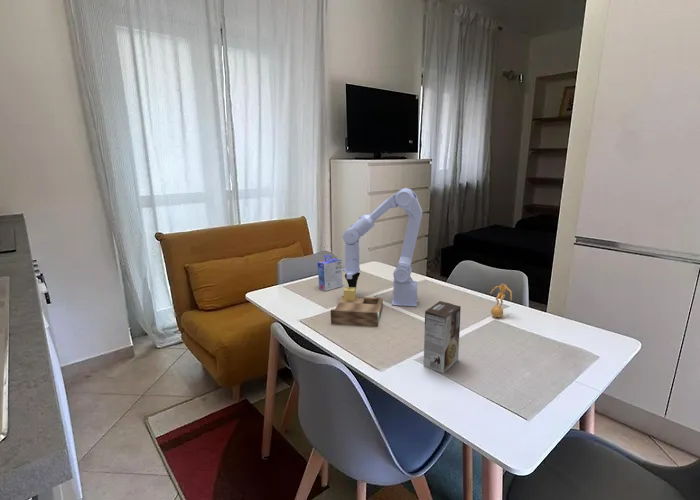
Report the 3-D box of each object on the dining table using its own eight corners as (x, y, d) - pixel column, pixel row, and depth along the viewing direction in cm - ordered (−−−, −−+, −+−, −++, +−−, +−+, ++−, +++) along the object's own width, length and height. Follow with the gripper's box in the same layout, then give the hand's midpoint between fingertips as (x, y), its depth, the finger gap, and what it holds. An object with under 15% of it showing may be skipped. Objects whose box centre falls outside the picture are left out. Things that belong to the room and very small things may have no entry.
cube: (355, 297, 147) (355, 287, 146) (354, 300, 143) (354, 290, 142) (345, 296, 147) (345, 286, 146) (343, 300, 144) (343, 290, 143)
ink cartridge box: (335, 283, 171) (335, 252, 168) (343, 286, 167) (342, 255, 164) (317, 288, 165) (316, 256, 162) (325, 291, 161) (324, 259, 158)
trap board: (382, 303, 146) (382, 291, 145) (377, 326, 126) (377, 312, 125) (342, 301, 149) (342, 289, 148) (330, 324, 129) (330, 310, 127)
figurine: (483, 314, 134) (485, 282, 132) (493, 310, 138) (495, 279, 135) (504, 322, 128) (507, 288, 125) (514, 317, 131) (517, 285, 128)
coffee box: (437, 352, 108) (439, 300, 105) (458, 359, 104) (462, 305, 101) (422, 366, 102) (423, 310, 98) (444, 374, 98) (447, 316, 94)
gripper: (345, 253, 156) (346, 284, 159) (338, 262, 142) (339, 296, 145) (362, 254, 154) (362, 285, 157) (356, 263, 140) (357, 297, 144)
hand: (352, 290), depth 151 cm, fingers closed
